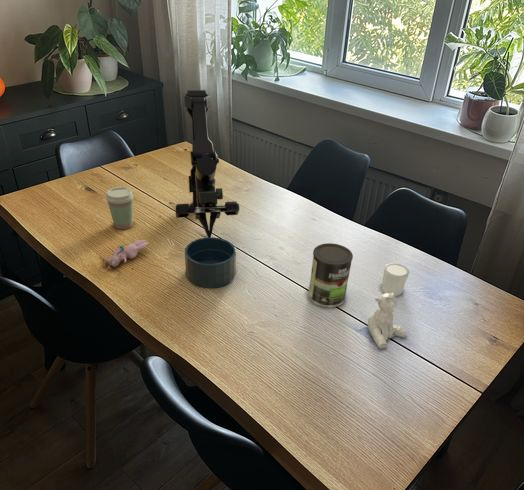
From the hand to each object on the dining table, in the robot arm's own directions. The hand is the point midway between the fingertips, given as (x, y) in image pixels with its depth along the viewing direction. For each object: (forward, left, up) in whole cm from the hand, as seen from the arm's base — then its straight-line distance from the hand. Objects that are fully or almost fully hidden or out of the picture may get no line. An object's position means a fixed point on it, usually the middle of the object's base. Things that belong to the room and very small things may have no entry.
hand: (209, 237), depth 148 cm
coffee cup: (-3, -34, -6) cm, 35 cm away
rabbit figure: (+13, -21, -6) cm, 25 cm away
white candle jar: (-7, +54, -6) cm, 55 cm away
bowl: (+9, +5, -6) cm, 12 cm away
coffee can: (+4, +38, -6) cm, 39 cm away
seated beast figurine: (+13, +55, -6) cm, 57 cm away
